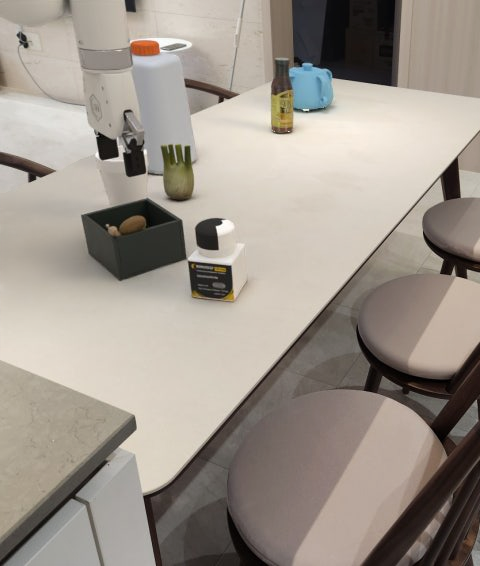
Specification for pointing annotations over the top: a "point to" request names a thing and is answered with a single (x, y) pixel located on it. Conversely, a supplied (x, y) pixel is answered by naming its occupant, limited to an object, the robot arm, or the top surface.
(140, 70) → the plastic bottle
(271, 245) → the top surface
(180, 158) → the fennel bulb
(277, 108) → the sauce bottle
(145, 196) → the foam cup
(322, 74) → the decorative pot
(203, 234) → the medicine bottle
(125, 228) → the snail figurine
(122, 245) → the bin
